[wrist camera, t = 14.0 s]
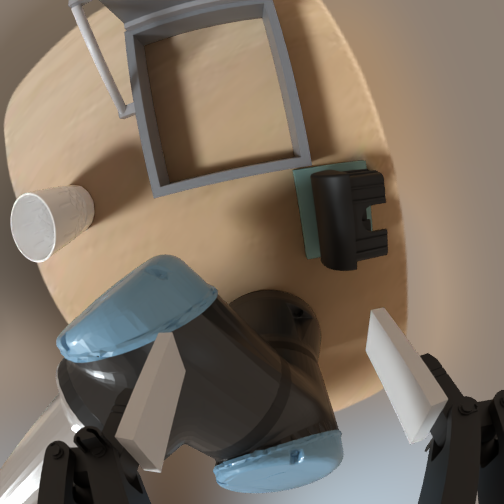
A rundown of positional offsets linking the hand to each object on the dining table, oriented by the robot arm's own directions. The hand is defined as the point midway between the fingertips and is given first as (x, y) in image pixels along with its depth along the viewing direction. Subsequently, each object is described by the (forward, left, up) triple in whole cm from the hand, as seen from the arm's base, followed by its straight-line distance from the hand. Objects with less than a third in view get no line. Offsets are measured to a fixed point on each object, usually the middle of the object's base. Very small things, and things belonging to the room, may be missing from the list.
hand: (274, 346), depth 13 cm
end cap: (+1, -10, -21) cm, 23 cm away
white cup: (+8, +24, -22) cm, 33 cm away
